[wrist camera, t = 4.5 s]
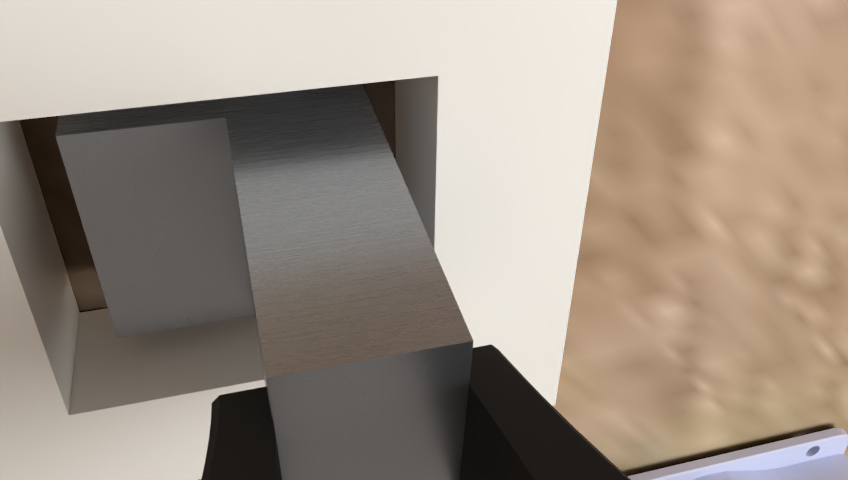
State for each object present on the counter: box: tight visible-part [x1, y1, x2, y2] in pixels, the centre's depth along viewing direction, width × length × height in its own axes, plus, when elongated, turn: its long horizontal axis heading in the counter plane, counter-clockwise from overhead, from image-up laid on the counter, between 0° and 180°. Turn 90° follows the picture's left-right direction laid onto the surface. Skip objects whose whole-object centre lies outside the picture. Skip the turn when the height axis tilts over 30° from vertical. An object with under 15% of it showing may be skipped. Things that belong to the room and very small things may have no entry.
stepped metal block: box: [56, 84, 473, 480], centre depth 13 cm, size 5×4×8 cm
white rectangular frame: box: [0, 0, 617, 480], centre depth 15 cm, size 13×11×3 cm
